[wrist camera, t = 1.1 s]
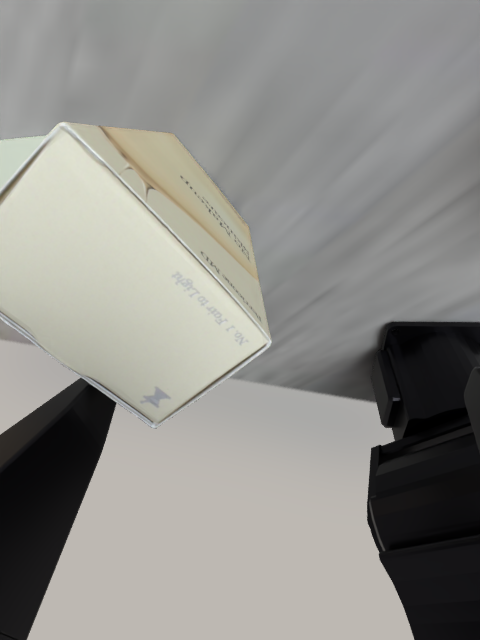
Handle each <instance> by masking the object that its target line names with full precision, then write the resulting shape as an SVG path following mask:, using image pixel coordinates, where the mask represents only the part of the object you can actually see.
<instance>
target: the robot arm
mask: <svg viewBox="0 0 480 640" xmlns="http://www.w3.org/2000/svg"><path fill="white" fill-rule="evenodd" d="M394 329H398V330H397V331H392V330H394ZM371 380H372V384H373V388H374V393H375V397H376V402H377V406H378V410H379V415H380V419H381V424H382V425H383V426H384V427H385V428H392V430H393V435H394V439H395V441H394V442H391V443H389V444H386V445H383V446H381V445H378V446H376V447H373V448H371V460H370V475H369V487H368V501H367V514H368V516H367V521H368V525H369V527H370V529H371V533H372V536H373V539H374V541H375V544H376V546H377V548H378V550H379V552H380V553H379V558H380V561H381V563H382V564H383V566H384V568H385V569H386V571H387V573H388V575H389V577H390V578H391V580H392V582H393V584H394V586H395V588H396V591H397V593H398V595H399V598H400V600H401V602H402V604H403V607H404V609H405V612H406V615H407V618H408V621H409V624H410V627H411V630H412V633H413V636H414V640H480V323H470V322H392V323H390V324H388V325H387V327H386V330H385V335H384V339H383V344H382V349H381V350H379V351H378V352H377V353H376V356H375V361H374V366H373V371H372V376H371ZM116 403H117V402H115V401H114V400H112V399H111V398H109V397H108V396H107V395H106V394H104V393H102V392H101V391H100V390H98V389H97V388H95V387H94V386H93V385H91V384H90V383H88V382H87V381H86V380H84V379H83V378H80V379H78V380H77V381H75V382H74V383H73V384H71V385H70V386H68V387H67V388H66V389H65V390H63V391H61V392H60V393H59V394H57V395H56V396H54V397H53V398H52V399H50V400H49V401H47V402H46V403H44V404H43V405H42V406H40V407H39V408H37V409H36V410H35V411H33V412H32V413H30V414H29V415H28V416H26V417H25V418H23V419H22V420H20V421H19V422H18V423H16V424H15V425H13V426H12V427H11V428H9V429H8V430H6V431H5V432H4V433H2V434H1V435H0V640H27V638H28V635H29V633H30V630H31V627H32V625H33V623H34V620H35V617H36V615H37V612H38V610H39V608H40V605H41V603H42V600H43V597H44V595H45V593H46V590H47V588H48V585H49V583H50V580H51V578H52V575H53V573H54V570H55V568H56V565H57V563H58V560H59V558H60V555H61V553H62V550H63V548H64V545H65V543H66V540H67V538H68V535H69V533H70V530H71V528H72V525H73V523H74V520H75V518H76V515H77V513H78V510H79V508H80V505H81V503H82V500H83V498H84V495H85V493H86V491H87V488H88V485H89V483H90V480H91V478H92V476H93V473H94V470H95V468H96V466H97V463H98V460H99V458H100V455H101V453H102V450H103V447H104V444H105V441H106V437H107V434H108V430H109V427H110V423H111V420H112V416H113V413H114V410H115V406H116Z"/></svg>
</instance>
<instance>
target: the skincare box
mask: <svg viewBox="0 0 480 640" xmlns="http://www.w3.org/2000/svg"><path fill="white" fill-rule="evenodd" d="M0 319H2V320H3V321H4V322H5V323H6V324H8V325H9V326H11V327H12V328H14V329H15V330H17V331H18V332H19V333H20V334H22V335H23V336H25V337H26V338H27V339H29V340H30V341H32V342H33V343H34V344H35V345H36V346H38V347H39V348H40V349H41V350H43V351H44V352H46V353H47V354H48V355H50V356H51V357H52V358H54V359H55V360H56V361H58V362H59V363H61V364H62V365H63V366H65V367H66V368H68V369H69V370H71V371H72V372H74V373H75V374H77V375H78V376H80V377H81V378H83V379H84V380H86V381H87V382H88V383H90V384H91V385H93V386H94V387H95V388H97V389H98V390H100V391H101V392H102V393H104V394H106V395H107V396H108V397H109V398H111V399H112V400H114V401H115V402H117V403H118V404H119V405H121V406H122V407H124V408H126V410H128V411H129V412H131V413H132V414H134V415H136V416H137V417H138V418H139V419H141V420H142V421H144V422H145V423H146V424H147V425H148V426H150V427H151V428H157V427H159V426H160V425H161V424H163V423H164V422H165V421H167V420H168V419H170V418H172V417H173V416H175V415H176V414H177V413H179V412H180V411H182V410H183V409H185V408H186V407H188V406H189V405H191V404H192V403H193V402H195V401H197V400H198V399H200V398H201V397H202V396H204V395H205V394H206V393H208V392H209V391H210V390H212V389H213V388H215V387H216V386H218V385H219V384H220V383H222V382H224V381H225V380H227V379H228V378H229V377H231V376H232V375H233V374H235V373H236V372H237V371H239V370H240V369H241V368H243V367H244V366H245V365H247V364H248V363H249V362H251V361H252V360H254V359H255V358H256V357H257V356H259V355H260V354H261V353H263V352H264V351H266V350H267V349H268V348H269V347H270V346H271V342H272V340H271V336H270V332H269V327H268V323H267V318H266V313H265V308H264V303H263V298H262V293H261V288H260V283H259V278H258V273H257V267H256V263H255V258H254V253H253V247H252V242H251V237H250V231H249V227H248V225H247V224H246V223H245V222H244V220H243V219H242V218H241V217H240V215H239V214H238V213H237V211H236V210H235V209H234V208H233V206H232V205H231V204H230V202H229V201H228V200H227V199H226V197H225V196H224V195H223V194H222V192H221V191H220V190H219V189H218V187H217V186H216V185H215V184H214V182H213V181H212V180H211V179H210V177H209V176H208V175H207V174H206V173H205V171H204V170H203V169H202V168H201V167H200V165H199V164H198V163H197V162H196V161H195V159H194V158H193V157H192V156H191V155H190V153H189V152H188V151H187V150H186V148H185V147H184V146H183V145H182V144H181V142H180V141H179V140H178V139H177V138H176V136H175V135H174V134H172V133H164V132H154V131H145V130H135V129H127V128H116V127H106V126H93V125H87V124H78V123H68V122H61V123H59V124H57V125H56V126H55V127H54V128H53V130H52V131H51V132H50V133H49V134H48V135H47V136H46V137H45V139H44V140H43V141H42V142H41V143H40V145H39V146H38V147H37V148H36V149H35V150H34V151H33V153H32V154H31V155H30V156H29V157H28V158H27V159H26V160H25V161H24V162H23V163H22V165H21V166H20V167H19V168H18V169H17V170H16V172H15V173H14V174H13V175H12V176H11V177H10V178H9V180H8V181H7V182H6V183H5V184H4V185H3V186H2V188H1V189H0Z"/></svg>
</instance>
